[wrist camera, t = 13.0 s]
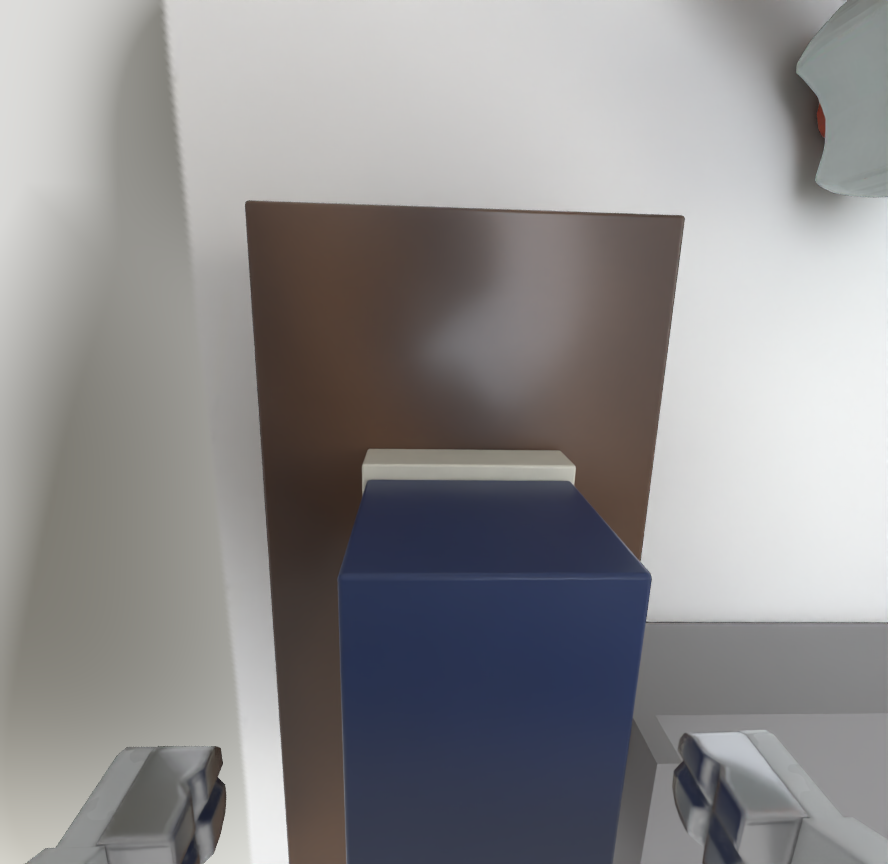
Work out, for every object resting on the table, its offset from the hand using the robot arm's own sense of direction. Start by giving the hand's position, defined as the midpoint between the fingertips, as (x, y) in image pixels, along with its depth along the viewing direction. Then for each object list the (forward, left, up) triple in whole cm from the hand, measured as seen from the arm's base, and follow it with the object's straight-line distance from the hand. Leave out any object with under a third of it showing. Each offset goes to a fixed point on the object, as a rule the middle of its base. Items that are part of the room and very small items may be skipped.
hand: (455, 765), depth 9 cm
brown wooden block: (0, 0, -12) cm, 12 cm away
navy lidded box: (0, 0, -4) cm, 4 cm away
